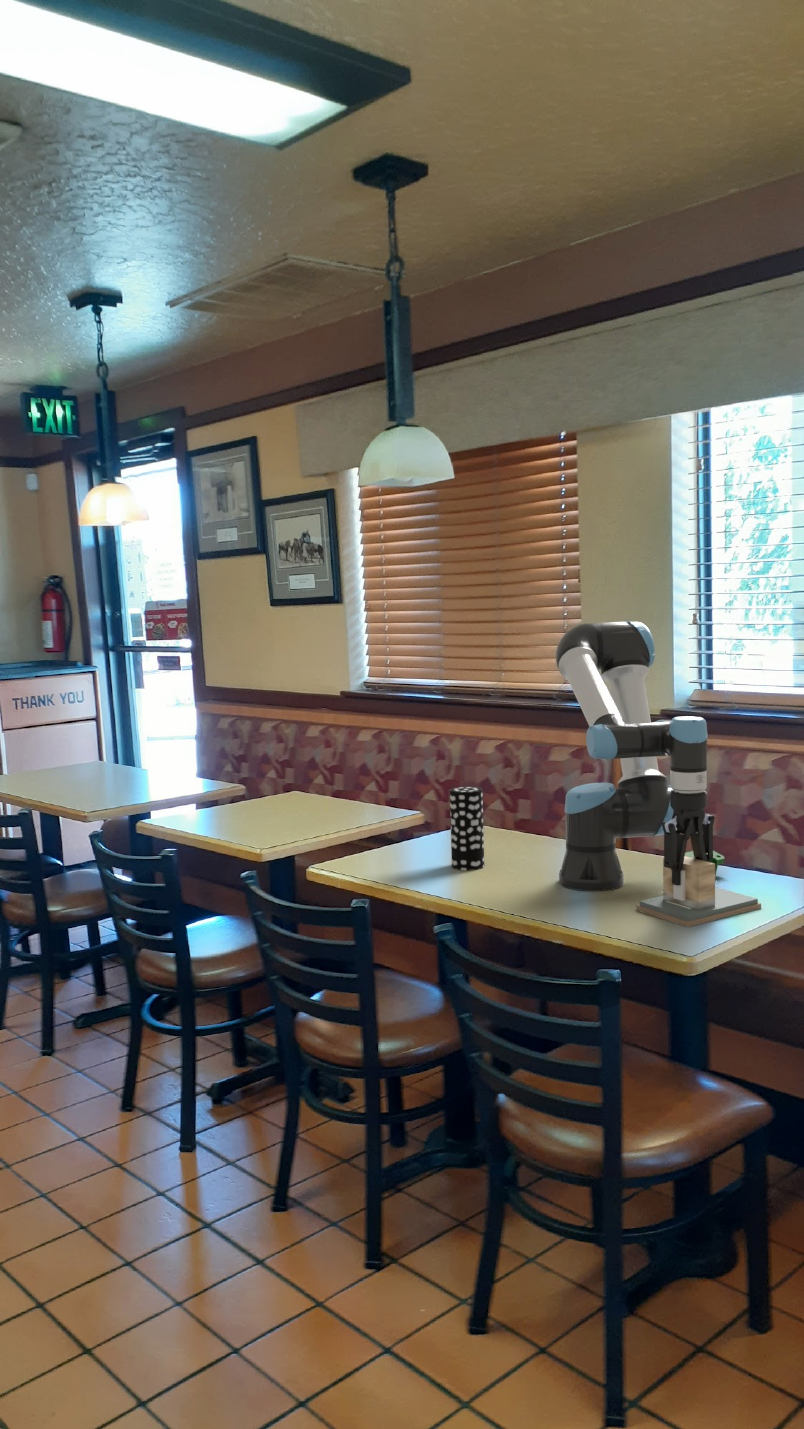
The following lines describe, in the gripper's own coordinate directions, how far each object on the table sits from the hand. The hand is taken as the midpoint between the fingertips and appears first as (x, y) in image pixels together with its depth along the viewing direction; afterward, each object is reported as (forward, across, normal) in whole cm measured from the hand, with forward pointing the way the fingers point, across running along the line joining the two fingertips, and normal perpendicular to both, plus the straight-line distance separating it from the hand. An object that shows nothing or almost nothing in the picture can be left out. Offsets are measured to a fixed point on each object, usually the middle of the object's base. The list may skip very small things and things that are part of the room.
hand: (688, 896), depth 229 cm
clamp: (+4, +23, +18) cm, 30 cm away
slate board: (+3, +3, 0) cm, 4 cm away
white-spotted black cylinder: (+4, -14, +61) cm, 63 cm away
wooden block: (+1, 0, 0) cm, 1 cm away
